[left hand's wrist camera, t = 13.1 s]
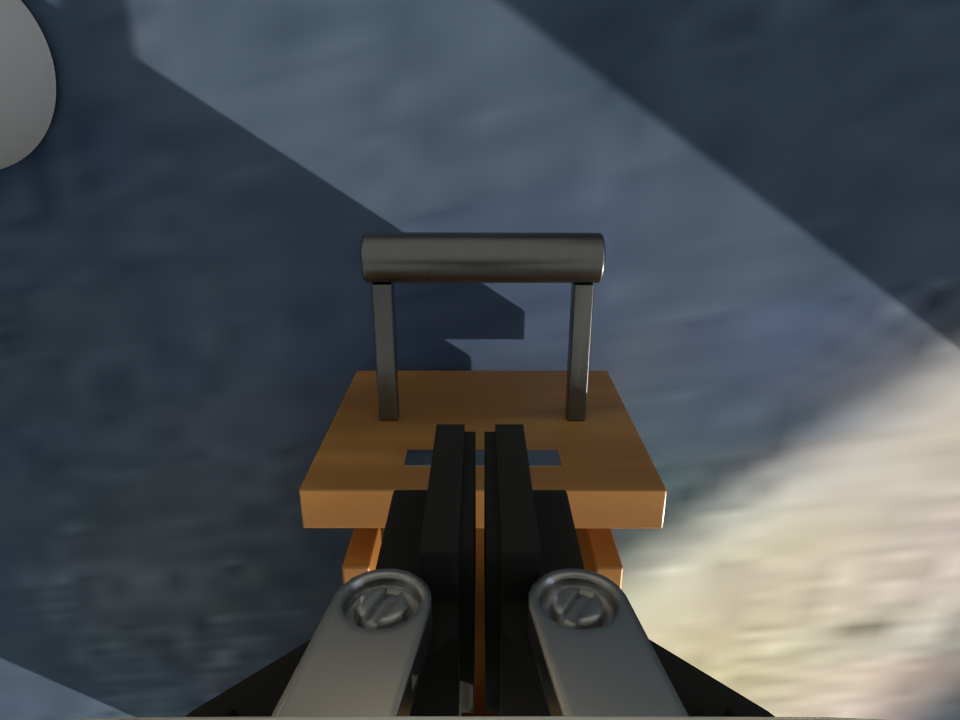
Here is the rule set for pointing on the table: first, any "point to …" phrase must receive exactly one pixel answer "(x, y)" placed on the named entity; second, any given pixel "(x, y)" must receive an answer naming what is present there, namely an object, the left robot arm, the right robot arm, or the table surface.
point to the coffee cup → (23, 83)
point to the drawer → (483, 410)
